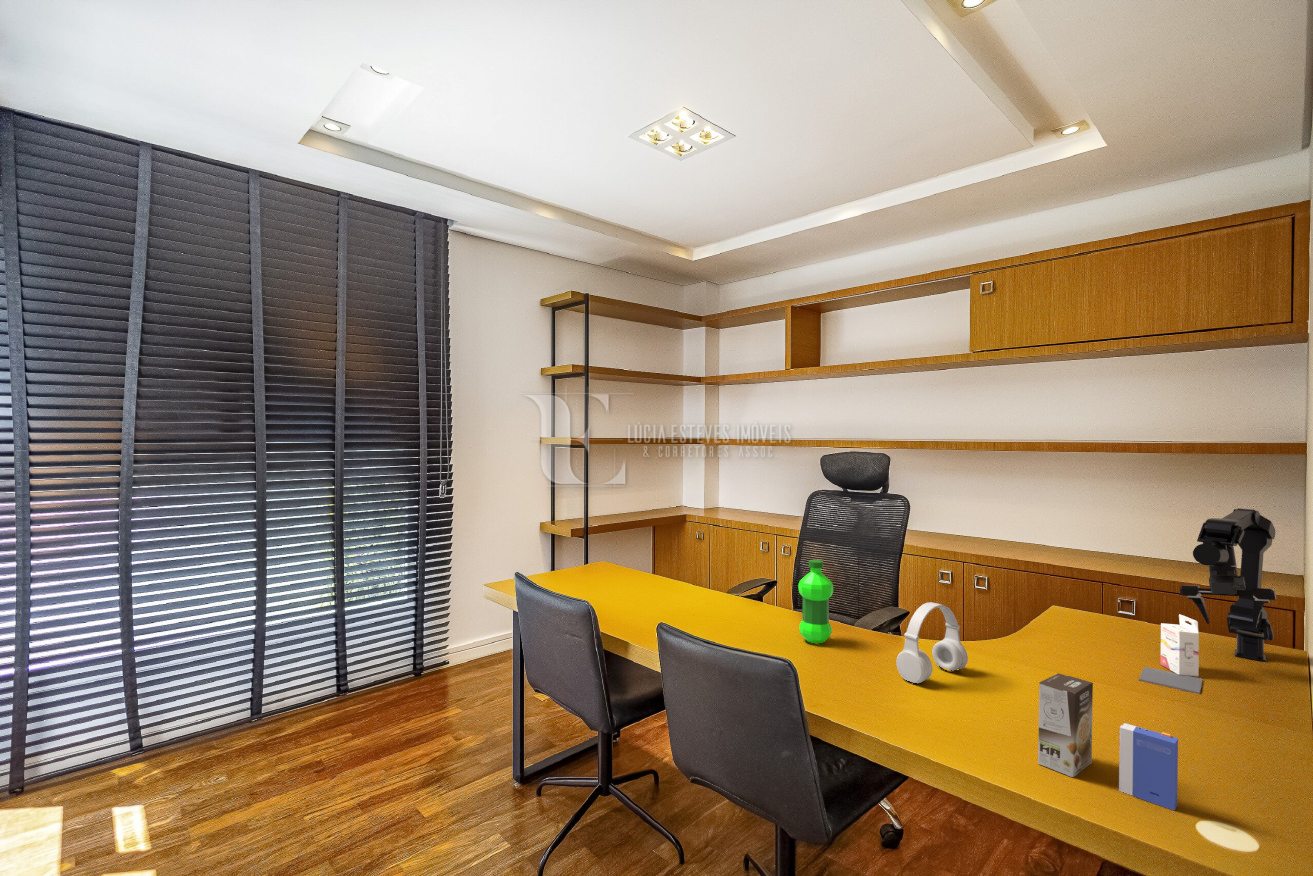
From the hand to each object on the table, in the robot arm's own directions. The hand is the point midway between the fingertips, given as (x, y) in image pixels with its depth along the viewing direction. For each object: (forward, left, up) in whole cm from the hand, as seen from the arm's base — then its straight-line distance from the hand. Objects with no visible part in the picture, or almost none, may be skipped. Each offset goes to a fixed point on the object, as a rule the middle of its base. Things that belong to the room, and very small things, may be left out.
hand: (1231, 625), depth 163 cm
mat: (+14, -11, -14) cm, 23 cm away
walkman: (+85, -9, -14) cm, 87 cm away
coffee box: (+82, -22, -14) cm, 86 cm away
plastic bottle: (+53, -93, -14) cm, 108 cm away
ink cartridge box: (+4, -10, -14) cm, 18 cm away
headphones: (+55, -57, -14) cm, 81 cm away
